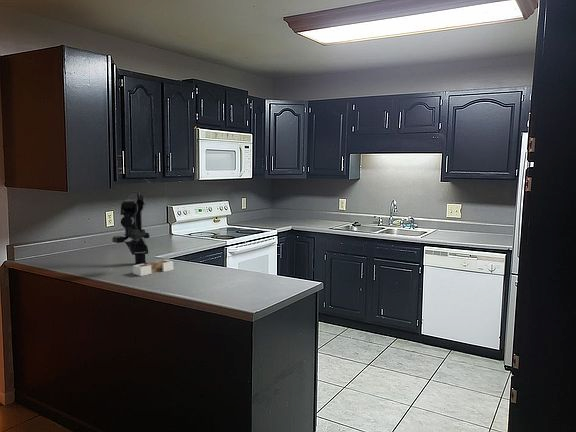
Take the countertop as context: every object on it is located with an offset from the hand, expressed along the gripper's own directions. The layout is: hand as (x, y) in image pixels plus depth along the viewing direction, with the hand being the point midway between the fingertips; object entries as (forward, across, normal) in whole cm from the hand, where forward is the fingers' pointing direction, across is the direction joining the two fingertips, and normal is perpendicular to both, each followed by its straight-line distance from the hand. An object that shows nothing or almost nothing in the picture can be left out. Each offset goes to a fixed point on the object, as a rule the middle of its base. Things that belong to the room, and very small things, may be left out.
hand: (132, 253), depth 250 cm
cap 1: (+11, +2, -6) cm, 13 cm away
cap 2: (+11, +15, -6) cm, 20 cm away
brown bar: (+11, +8, -6) cm, 15 cm away
